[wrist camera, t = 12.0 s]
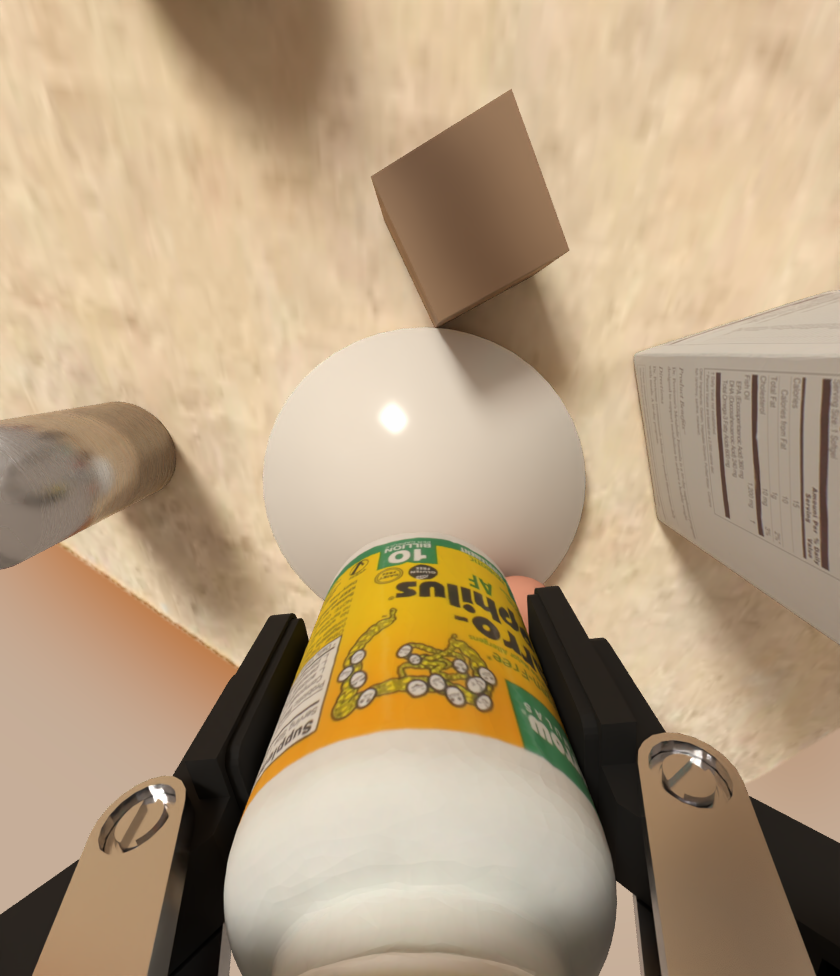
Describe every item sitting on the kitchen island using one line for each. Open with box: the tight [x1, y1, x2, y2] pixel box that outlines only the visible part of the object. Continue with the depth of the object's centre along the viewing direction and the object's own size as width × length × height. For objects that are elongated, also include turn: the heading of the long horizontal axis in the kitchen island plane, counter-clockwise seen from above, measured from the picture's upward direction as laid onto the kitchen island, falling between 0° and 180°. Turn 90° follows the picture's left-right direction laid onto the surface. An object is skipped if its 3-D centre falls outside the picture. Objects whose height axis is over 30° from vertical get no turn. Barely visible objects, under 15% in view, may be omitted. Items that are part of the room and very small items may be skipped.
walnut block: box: [371, 89, 569, 328], centre depth 16 cm, size 5×5×5 cm
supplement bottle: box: [224, 532, 617, 976], centre depth 8 cm, size 5×5×10 cm
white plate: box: [263, 327, 586, 601], centre depth 22 cm, size 16×16×1 cm
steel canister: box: [0, 402, 176, 569], centre depth 18 cm, size 5×5×8 cm
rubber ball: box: [505, 576, 545, 635], centre depth 21 cm, size 4×4×4 cm
